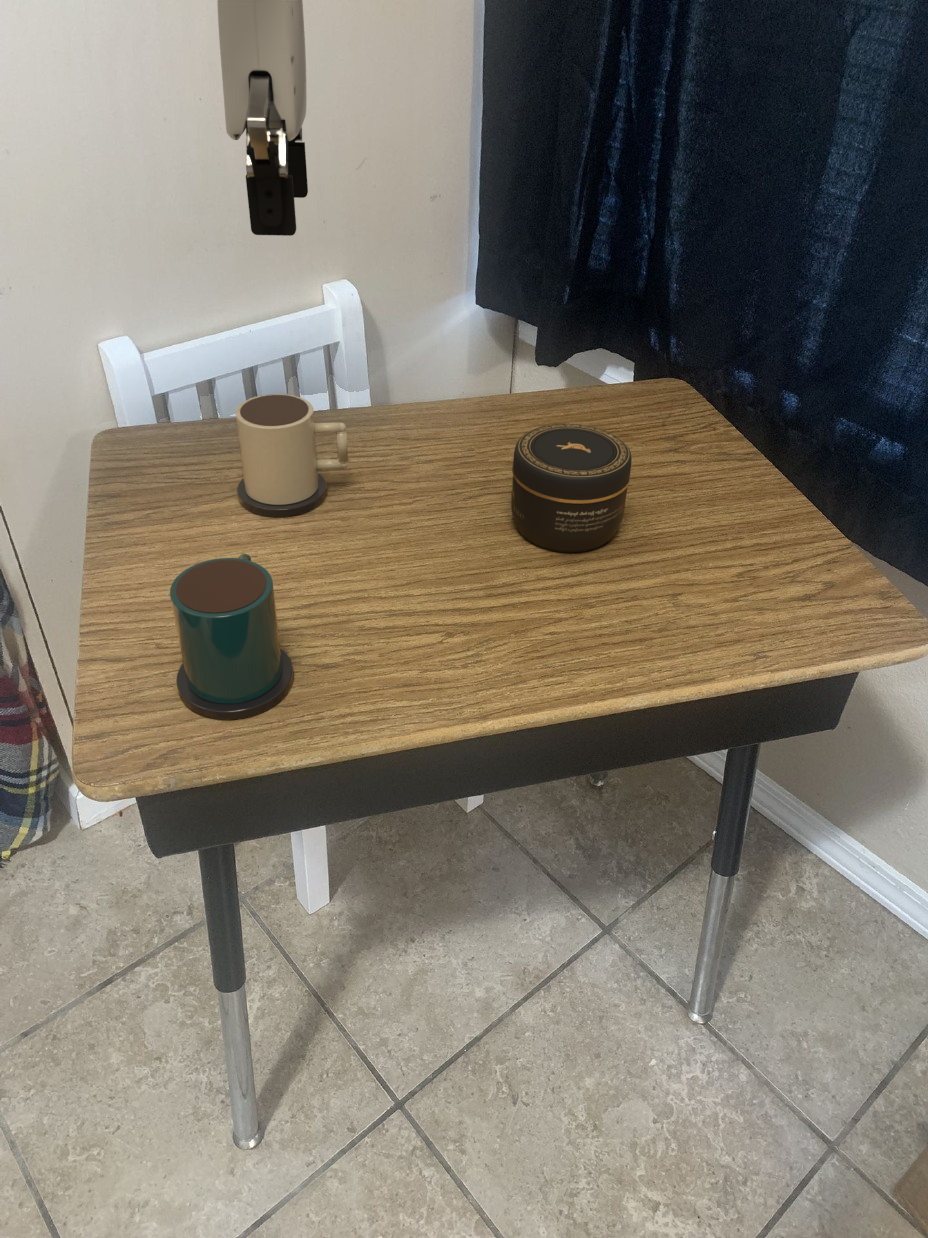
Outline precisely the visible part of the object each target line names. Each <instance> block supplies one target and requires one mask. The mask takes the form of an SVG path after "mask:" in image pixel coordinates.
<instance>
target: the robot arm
mask: <svg viewBox="0 0 928 1238" xmlns="http://www.w3.org/2000/svg"><path fill="white" fill-rule="evenodd" d="M304 17H305V16H304V2H303V0H217V23H218V25H217V26H218V40H219V50H220V51H219V53H220V66H221V79H222V93H223V106H224V117H225V118H224V119H225V121H224V122H225V130H226V131H225V132H226V134H227V135H228V137H230V139H231V140H232V141H239V140H240V138H241V136H243V134H244V133H245V171H246V174H245V185H246V193H247V195H246V196H247V203H248V213H249V223H250V224H249V225H250V231H251V233H252V234H253V235H255V236H282V237H283V236H287V237H288V236H289V237H291V236H294V235H296V232H297V217H296V204H295V199H296V198H297V199H298V198H299V199H303V198H306V197H307V196H308V193H309V186H308V185H309V184H308V172H307V171H308V169H307V155H306V154H307V153H306V142H303V124H304V121H305V119H306V116H307V58H306V57H307V55H306V36H305V35H306V33H305V18H304Z"/></svg>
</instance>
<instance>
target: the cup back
mask: <svg viewBox="0 0 928 1238" xmlns="http://www.w3.org/2000/svg"><path fill="white" fill-rule="evenodd" d="M314 414H315V413H314V407H313V405H312V403H311V402H309V401H308V400H306V399H305V398H303V397H301V396H297V395H293V394H288V393H287V394H286V393H271V394H270V393H269V394H263V395H258V396H254V397H251V398H249V399H247V400H245V401H243V402H241V403H240V404H239V405H238V406H237V408H236V410H235V420H236V422H235V423H236V428H237V430H236V431H237V438H238V444H239V454H240V460H241V469H242V476H243V477H242V478H244V485H245V491H246V493H247V494H248V496H249V497H251V498H252V499H254V500H255V501H258V502H261V503H264V504H270V505H287V504H293V503H297V502H300V501H303V500H305V499H307V498H309V497H311V496H312V495H313V494H314V493H315V492H316V491H317V489H318V486H319V481H318V473H319V471H323V470H325V471H327V470H328V471H329V470H345V469H347V468H348V467H349V462H348V461H349V454H348V451H349V450H348V437H347V436H348V435H347V434H348V433H347V432H348V431H347V425H346V424H345V422H315V415H314ZM316 434H336V451H337V458H327V459H326V458H325V459H318V455H317V441H316Z"/></svg>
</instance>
